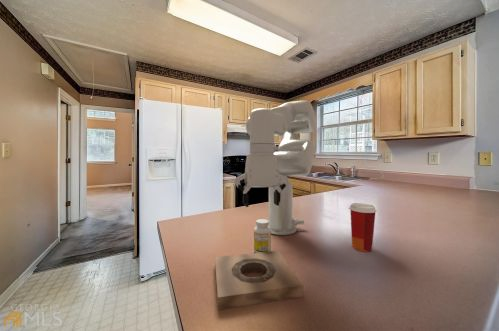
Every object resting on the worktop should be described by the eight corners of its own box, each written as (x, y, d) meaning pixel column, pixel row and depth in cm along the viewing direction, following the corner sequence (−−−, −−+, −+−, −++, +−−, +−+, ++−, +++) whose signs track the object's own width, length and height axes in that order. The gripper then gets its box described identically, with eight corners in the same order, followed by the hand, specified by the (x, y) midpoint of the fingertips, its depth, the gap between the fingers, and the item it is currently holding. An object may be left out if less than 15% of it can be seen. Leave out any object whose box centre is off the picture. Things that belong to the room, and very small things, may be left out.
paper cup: (372, 244, 68) (373, 203, 67) (378, 255, 61) (379, 209, 60) (346, 241, 71) (347, 201, 70) (349, 251, 63) (350, 207, 63)
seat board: (277, 259, 59) (277, 250, 59) (302, 296, 43) (303, 285, 43) (215, 266, 55) (215, 257, 55) (218, 309, 40) (217, 297, 40)
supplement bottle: (264, 256, 61) (264, 225, 60) (250, 251, 64) (250, 221, 64) (274, 250, 65) (274, 220, 64) (260, 245, 68) (260, 217, 68)
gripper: (283, 151, 68) (283, 201, 69) (232, 150, 65) (232, 203, 65) (293, 150, 61) (292, 206, 61) (235, 149, 57) (235, 209, 58)
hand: (261, 205), depth 63 cm, fingers open, 9 cm apart
